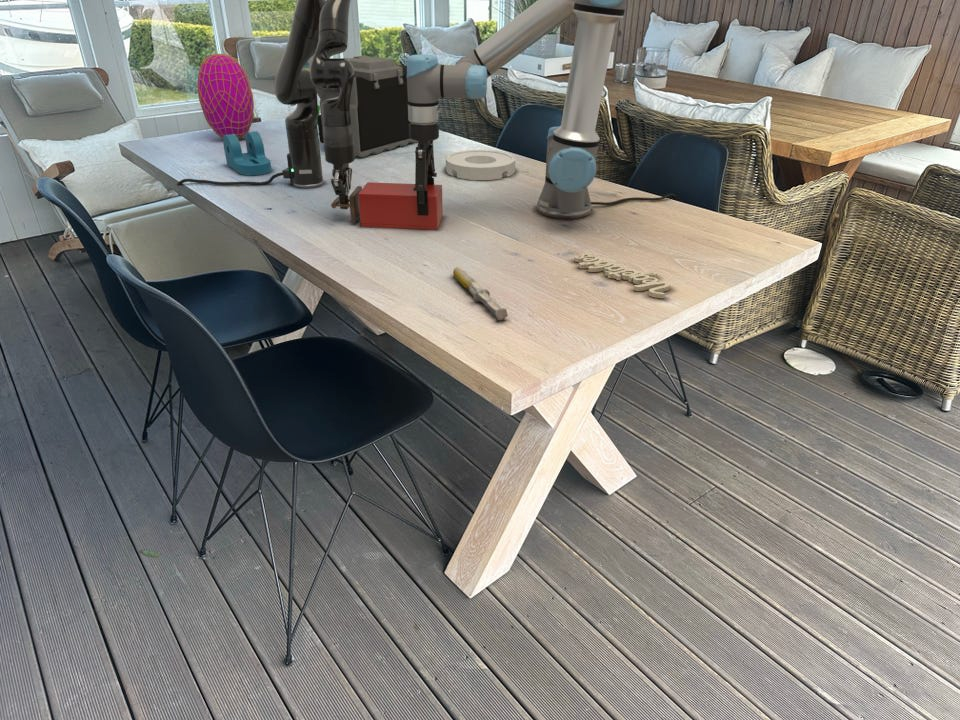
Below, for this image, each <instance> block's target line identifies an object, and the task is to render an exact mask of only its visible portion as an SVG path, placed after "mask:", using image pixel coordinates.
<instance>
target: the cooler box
mask: <svg viewBox="0 0 960 720" xmlns="http://www.w3.org/2000/svg"><path fill="white" fill-rule="evenodd" d="M341 58H342V57H341ZM342 59H347V60H349V61H350V62H351V64H352V66H353V68H354V80H353V85H352V90H351V96H350V118H351V127H352V132H353V142H354V154H355V157H357V158H362V159H363V158H366V157H367V158H368V157H369V155H371V154H375V155H377V154H381V153H382V152H383V151H391V150H395V149H396V148H397V147H405V146H407V145H408V144H416V143H418V141H416V140H412V139H411V138H410V137H409V124H410V123H411V122H410V121H409V120H408V91H407V77H406V76H407V65H400V64H396V62H395V60H394V59H393V58H385V57H377V56H367V55H356V56H353V57H350V58H349V57H343V58H342ZM339 94H340V89H318V88H317V97H318V98H319V106H320V110H319V112H320V114H319V116H318V119H317V120H318V123H317V127H318V137H319V144H324V140H323V120H322V111H321V104H322V102H323V101H324V100H327V99H332V98H336V97H338V96H339Z"/></svg>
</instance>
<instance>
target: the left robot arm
mask: <svg viewBox="0 0 960 720" xmlns="http://www.w3.org/2000/svg"><path fill="white" fill-rule="evenodd" d="M351 1H352V0H297V1H296V5H295V9H294V11H293V17H292V20H291V26H290V31H289V34H288V39H287V42H286V46H285V49H284V53H283V54H282V58H281V61H280V63H279V66H278V68H277V71H276V73H275V78H274V84H273V85H274V94H275V98H276V100H277V101H278V102H279V103H281V104H282V105H287V106H293V105H296V108H295V109H294V111H293V112H292V113H290V114H289V115H287V116H286V117H285V120H284V123H285V131H286V138H287V146H288V153H287V154H286V161H287V167H286V168H284V169H283V170H282V171H281V172H278V173H275V174H272V176H270V178H269V179H268V180H265V181H215V180H210V179H209V180H207V179H195V178H183V179H181V180H179V181H178V182H177V184H176V186H182V185H183V184H185V183H195V184H208V185H215V186H267V185H269V184H271V183H273V181H274V179H276V178H278V177H281V176H282V177H283V179H288V180H289V184H290V186H294V187H296V188H300V189H301V188H303V189H310V188H317V187H320V186H322V185H324V184H325V182H324V175H323V167H322V157H321V147H320V139H319V130H318V123H317V119H318V94H317V88H318V89H340V94H339V96H338V97H336V98H332V99H327V100H324V101H323V102H322V104H321V111H322V120H323V140H324V143H323V149H324V156H325V157H324V158H325V162H326V163H328V164H331V165H332V166H333V169H332V170H331V175H332V177H333V178H330V179H331V180H330V183H331V186H332V189H333V191H334V193H335V196H338V197H339V202H340V203H339V204H350V202H349V196H350V195H349V194H350V190H351V188H352V178H353V177H352V175H353V168H352V167H350V164H351V163H353V162H354V161H355V160H356V156H355V154H354V142H353V132H352V127H351V118H350V96H351V90H352V85H353V80H354V68H353V66H352V64H351V62H350V61H349V60H347V59H342V57H341V58H340V57H339V58H338V57H337V58H335V57H334V58H333V56H335V55H339V54H343V53H345V52H346V50H347V49H348V45H349V16H350V7H351ZM311 58H312V60H311V62H310V63H311V64H310V66H309V68H310V71H309V70H307V69H302V68H303V66H304V65H305V64H306V62H307V61H308V62H309V60H310V59H311ZM321 111H320V112H321ZM339 208H340V210H348V209H350V207H339Z"/></svg>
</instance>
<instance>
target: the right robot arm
mask: <svg viewBox="0 0 960 720" xmlns="http://www.w3.org/2000/svg"><path fill="white" fill-rule="evenodd" d="M627 2H628V0H536V1H535V2H534V3H532V4H531V5H530V6H528V7H527V8H526V9H524V10H523V11H522V12H520V13H518V15H517V16H516V17H514V18H513V19H511V20H510V21H509V22H507V23H506V24H505V25H504V26H502V27H501V28H500V29H499V30H497V31H496V32H495V33H493V34H492V35H490V36H489V37H488V38H486V40H484V41H483V42H481V43H480V44H479V45H478V46H477V47H475V48H474V49H472V50H471V51H470V52H469V53H467V54H466V55H464V56H462V57H461V58H459V59H458V60H457V61H456V62H455V63H454V64H440V63H439V60H438V57H437V56H436V55H434V54H425V53H424V54H423V53H421V54H412V55H410V56H409V57H408V58H407V59H406V66H407V76H406V77H407V91H408V120H409V121H410V122H411V123H410V124H409V137H410V138H411V139H412V140H416V141H418V142H417V145H416V147H415V151H414V154H415V156H414V157H415V171H414V172H415V177H414V178H415V179H414V184H415V188H413V190H414V191H417V215H426V216H428V190H427V184H432V185H435V178H437V175H438V174H437V173H438V172H436V168H435V167H436V166H435V154H434V141H435V140H438V139H439V137H440V124H439V123H438V121H439V114H440V113H442V109H441V108H439V99H441V98H442V99H445V98H446V99H467V100H468V99H470V100H475V99H476V100H477V99H484V98H486V96H487V91H488V78H489V77H491V76H492V75H493V74H495V73H496V72H497V71H499V70H500V69H501V68H503V67H504V66H505V65H507V64H508V63H509V62H511V61H512V60H514V59H515V58H516V57H517V56H519V55H520V54H522V53H523V52H525V51H526V50H527V49H528V48H530V47H531V46H533V45H534V44H535V43H537V42H538V41H539V40H541V39H542V38H544V36H546V35H547V34H549V33H550V32H551V31H553V30H554V29H556V28H557V27H558V26H560V25H561V24H562V23H564V22H565V21H566V20H568V19H569V18H570V17H572V16H574V15H576V17H577V27H576V31H575V38H574V44H573V50H572V56H571V62H570V68H569V73H568V80H567V87H566V93H565V98H564V103H563V104H564V105H563V110H562V116H561V123H560V125H559V126H552V127H549V129H548V132H547V136H546V140H547V142H546V143H547V144H546V161H545V178H544V179H545V180H544V184H543V187H542V189H541V192H540V194H539V197H538V199H537V203H536V211H537V212H538V213H539V214H541V215H542V216H545V217H549V218H553V219H560V220H575V219H582V218H585V217H587V216H589V215H591V213H592V205H593V206H594V205H595V206H612V205H616V204H619V203H623V202H627V201H629V202H630V201H654V202H655V201H663V200H665V199H668V198H670V197H673V198H674V199H678V197H677V195H676V194H674V193H667V194H666V195H664V196H663V195H662V196H661V197H638V196H637V197H636V196H635V197H625V198H621V199H618V200H613V201H608V202H606V201H604V202H603V201H591V197H590V192H589V186H591V184H592V182H593V181H594V179H595V177H596V173H597V162H596V160H597V156H598V150H599V145H600V140H601V138H600V135H599V134H598V133H597V131H596V128H597V123H598V117H599V112H600V107H601V102H602V98H603V97H602V96H603V92H604V86H605V81H606V75H607V71H608V66H609V65H608V64H609V60H610V55H611V50H612V45H613V40H614V39H613V38H614V33H615V29H616V25H617V24H618V22H620V21H621V20H622V19H623V18H624V16H625V11H626V8H627ZM419 185H423V186H419Z"/></svg>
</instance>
